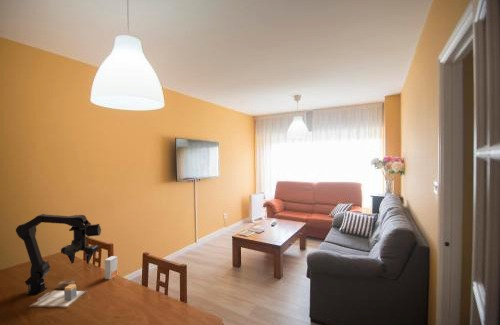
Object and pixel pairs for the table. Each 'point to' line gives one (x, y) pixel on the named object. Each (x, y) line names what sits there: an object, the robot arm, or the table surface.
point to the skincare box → (110, 267)
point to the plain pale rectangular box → (65, 284)
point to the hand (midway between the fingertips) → (80, 263)
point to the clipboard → (56, 299)
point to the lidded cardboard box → (70, 292)
